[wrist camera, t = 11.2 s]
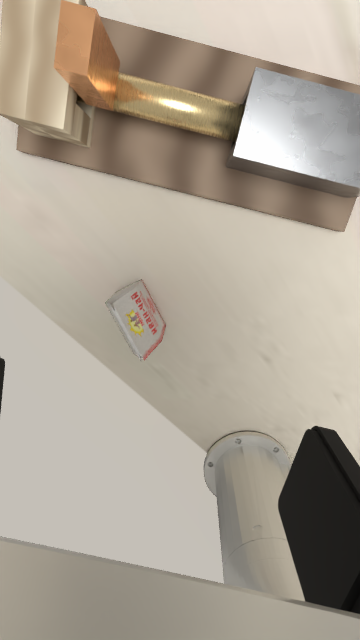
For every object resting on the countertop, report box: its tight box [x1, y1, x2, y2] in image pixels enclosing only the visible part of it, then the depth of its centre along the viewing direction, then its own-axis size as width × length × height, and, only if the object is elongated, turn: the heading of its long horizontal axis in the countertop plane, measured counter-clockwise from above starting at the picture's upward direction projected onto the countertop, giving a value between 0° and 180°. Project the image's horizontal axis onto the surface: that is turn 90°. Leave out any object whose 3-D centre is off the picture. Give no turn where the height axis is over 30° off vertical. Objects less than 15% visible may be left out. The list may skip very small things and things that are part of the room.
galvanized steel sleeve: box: [226, 67, 360, 198], centre depth 33 cm, size 14×7×7 cm, turn 77°
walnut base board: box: [16, 16, 360, 232], centre depth 37 cm, size 38×14×2 cm, turn 77°
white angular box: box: [105, 279, 166, 361], centre depth 39 cm, size 4×7×10 cm, turn 26°
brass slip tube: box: [54, 0, 245, 142], centre depth 29 cm, size 22×4×11 cm, turn 77°
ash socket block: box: [0, 0, 96, 148], centre depth 32 cm, size 6×10×8 cm, turn 167°
